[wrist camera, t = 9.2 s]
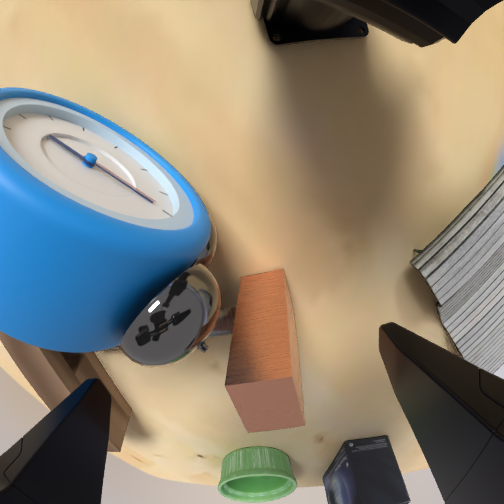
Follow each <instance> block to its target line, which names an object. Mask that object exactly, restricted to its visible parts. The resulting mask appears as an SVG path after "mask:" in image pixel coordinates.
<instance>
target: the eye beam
mask: <svg viewBox="0 0 504 504" xmlns="http://www.w3.org/2000/svg"><path fill="white" fill-rule="evenodd" d="M0 340H1V342H2V343H3V345H4V347H5V348H6V350H7V351H8V353H9V354H10V356H11V357H12V359H13V360H14V362H15V363H16V365H17V366H18V368H19V369H20V371H21V372H22V374H23V375H24V376H25V378H26V379H27V380H28V382H29V383H30V384H31V386H32V387H33V388H34V390H35V391H36V392H37V394H38V395H39V396H40V398H41V399H42V400H43V401H44V403H45V404H46V405H47V406H48V407H49V409H50V410H51V411H52V410H53V409H54V408H55V407H56V406H57V405H58V404H60V403H61V402H62V401H63V400H64V399H65V398H66V397H67V396H69V395H70V394H71V393H72V392H73V391H74V390H75V389H76V388H77V387H79V386H80V385H81V384H82V383H83V382H84V381H85V380H87V379H88V378H99V379H100V380H101V381H102V383H103V384H104V386H105V387H106V389H107V390H108V391H109V393H110V395H111V398H112V404H111V417H110V433H109V442H108V449H107V451H110V452H120V451H121V447H122V443H123V439H124V436H125V432H126V428H127V425H128V421H129V417H130V414H131V410H132V409H131V408H130V406H129V405H128V404H127V402H126V401H125V399H124V398H123V397H122V395H121V394H120V392H119V391H118V389H117V388H116V386H115V385H114V383H113V382H112V380H111V379H110V377H109V376H108V374H107V373H106V371H105V370H104V368H103V366H102V365H101V363H100V362H99V360H98V358H97V357H96V355H95V354H94V352H81V353H72V352H60V351H54V350H48V349H43V348H40V347H36V346H33V345H30V344H27V343H24V342H22V341H19V340H17V339H15V338H12V337H10V336H9V335H7V334H5V333H3V332H1V331H0Z"/></svg>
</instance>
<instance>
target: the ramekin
mask: <svg viewBox="0 0 504 504" xmlns="http://www.w3.org/2000/svg"><path fill="white" fill-rule="evenodd" d="M296 487H297V482H296V480H295V478H294V476H293V473H292V469H291V465H290V461H289V458H288V456H287V455H286V454H285V453H284V452H282V451H280V450H278V449H275V448H270V447H247V448H242V449H238V450H236V451H233V452H231V453H230V454H228V455H227V456H226V457H225V458H224V460H223V463H222V471H221V480H220V482H219V485H218V491H219V492H220V494H221V495H223V496H224V497H226V498H229V499H232V500H235V501H241V502H265V501H272V500H276V499H279V498H282V497H285V496H287V495H289V494H290V493H292V492H293V491H294V490H295V489H296Z"/></svg>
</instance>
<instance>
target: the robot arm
mask: <svg viewBox="0 0 504 504" xmlns="http://www.w3.org/2000/svg"><path fill="white" fill-rule="evenodd" d="M250 1H251V4H252V8H253V11H254V15H255V17H256V18H258V19H262V20H263V23H264V27H265V30H266V34H267V38H268V41H269V43H270V44H271V45H273V46H282V45H289V44H296V43H305V42H313V41H324V40H336V39H352V38H364V37H365V36H367V35H368V33H369V31H368V26H367V23H368V24H370V25H372V26H374V27H376V28H378V29H380V30H382V31H384V32H386V33H388V34H390V35H392V36H394V37H396V38H398V39H400V40H401V41H404V42H407V43H411V44H412V43H414V44H416V45H418V46H419V47H425V46H428V45H432V44H435V43H438V42H440V41H441V40H443V39H445V38H446V39H448V40H449V41H451V42H452V43H457V41H458V40H459V39H460V38H461V36H462V35H463V34H464V33H465V31H466V30H467V29H468V27H469V26H470V25H471V24H472V23H473V22H474V21H475V20H476V19H477V18H478V17H479V16H481V15H482V14H483V13H484V12H485V11H486V10H488V9H489V8H491V7H493V6H494V5H496V4H497V3H499V2H501V1H503V0H250ZM358 28H361V29H362V31H363V33H360V32H359V31H358ZM275 35H277V36H279V37H280V41H275V40H274V39H273V36H275ZM379 351H380V354H381V357H382V360H383V362H384V365H385V368H386V370H387V373H388V376H389V379H390V382H391V384H392V387H393V390H394V393H395V395H396V397H397V399H398V401H399V403H400V405H401V407H402V409H403V411H404V413H405V415H406V418H407V420H408V422H409V424H410V426H411V428H412V430H413V432H414V434H415V436H416V439H417V441H418V443H419V445H420V447H421V449H422V452H423V454H424V456H425V458H426V460H427V463H428V465H429V467H430V469H431V472H432V474H433V476H434V478H435V481H436V483H437V485H438V488H439V490H440V492H441V495H442V497H443V500H444V501H445V504H504V379H502V378H500V377H498V376H496V375H494V374H492V373H490V372H488V371H486V370H484V369H482V368H479V367H478V366H476V365H474V364H472V363H470V362H468V361H467V360H465V359H463V358H461V357H459V356H457V355H455V354H453V353H451V352H449V351H447V350H446V349H444V348H442V347H440V346H438V345H436V344H434V343H432V342H430V341H428V340H426V339H424V338H423V337H421V336H419V335H417V334H415V333H413V332H411V331H409V330H407V329H405V328H403V327H402V326H400V325H398V324H396V323H394V322H389V323H386V324H383V325H381V326H380V327H379ZM111 404H112V398H111V395H110V393H109V391H108V390H107V389H106V387H105V386H104V384H103V383H102V381H101V380H100V379H99V378H88V379H87V380H85V381H84V382H83V383H82V384H81V385H80V386H79V387H77V388H76V389H75V390H74V391H73V392H72V393H71V394H70V395H69V396H67V397H66V398H65V399H64V400H63V401H62V402H61V403H60V404H58V405H57V406H56V407H55V408H54V409H53V410H52V411H51V412H50V413H49V414H47V415H46V416H45V417H44V418H43V419H42V420H41V421H40V422H38V424H36V425H35V426H34V427H33V428H32V429H31V430H30V431H29V432H28V433H26V434H25V435H24V436H23V438H21V439H20V440H19V441H18V442H16V443H15V444H14V445H13V446H12V447H11V448H10V449H8V450H7V451H6V452H5V453H3V454H2V455H1V456H0V504H101V495H102V486H103V478H104V470H105V463H106V455H107V449H108V442H109V433H110V417H111Z"/></svg>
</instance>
